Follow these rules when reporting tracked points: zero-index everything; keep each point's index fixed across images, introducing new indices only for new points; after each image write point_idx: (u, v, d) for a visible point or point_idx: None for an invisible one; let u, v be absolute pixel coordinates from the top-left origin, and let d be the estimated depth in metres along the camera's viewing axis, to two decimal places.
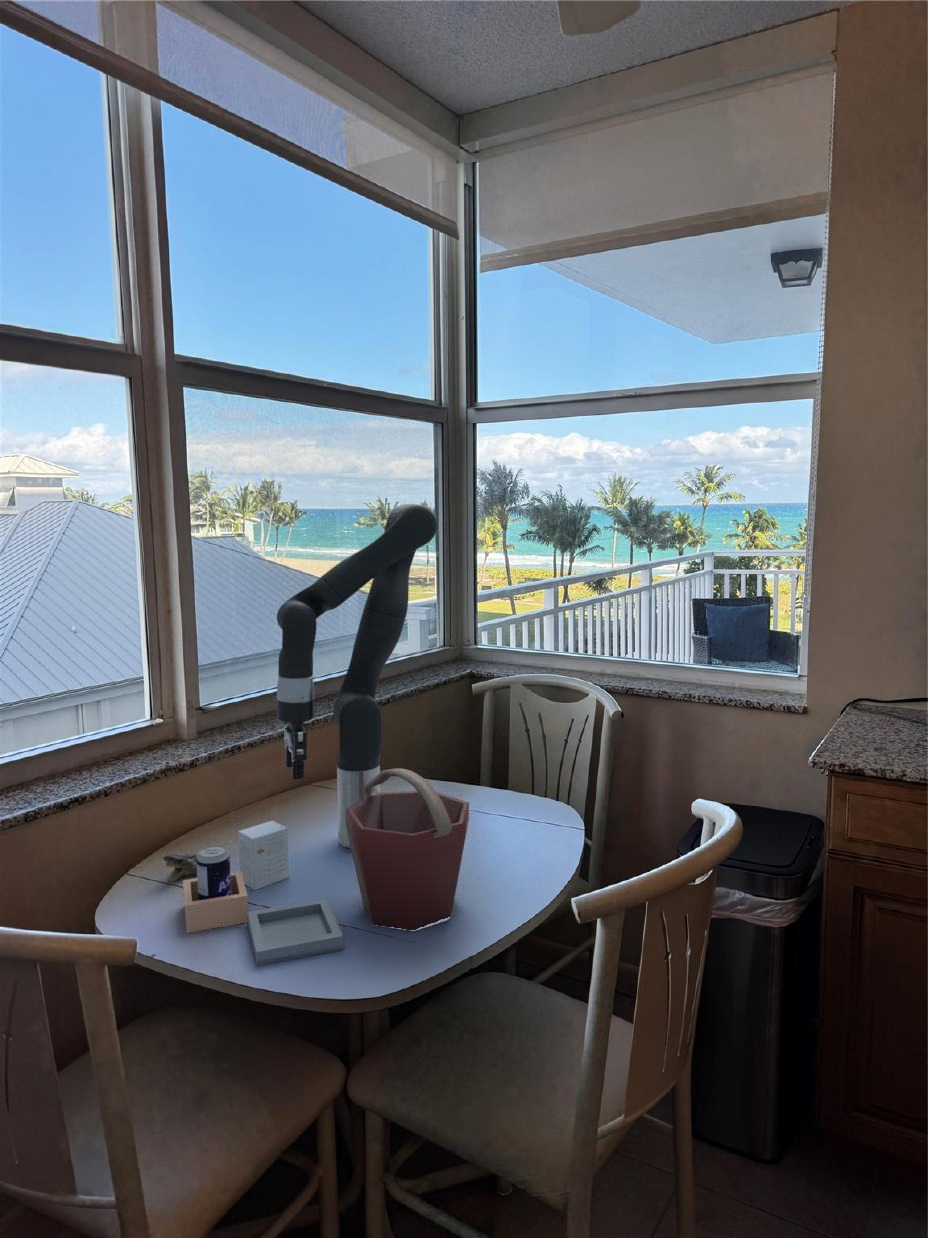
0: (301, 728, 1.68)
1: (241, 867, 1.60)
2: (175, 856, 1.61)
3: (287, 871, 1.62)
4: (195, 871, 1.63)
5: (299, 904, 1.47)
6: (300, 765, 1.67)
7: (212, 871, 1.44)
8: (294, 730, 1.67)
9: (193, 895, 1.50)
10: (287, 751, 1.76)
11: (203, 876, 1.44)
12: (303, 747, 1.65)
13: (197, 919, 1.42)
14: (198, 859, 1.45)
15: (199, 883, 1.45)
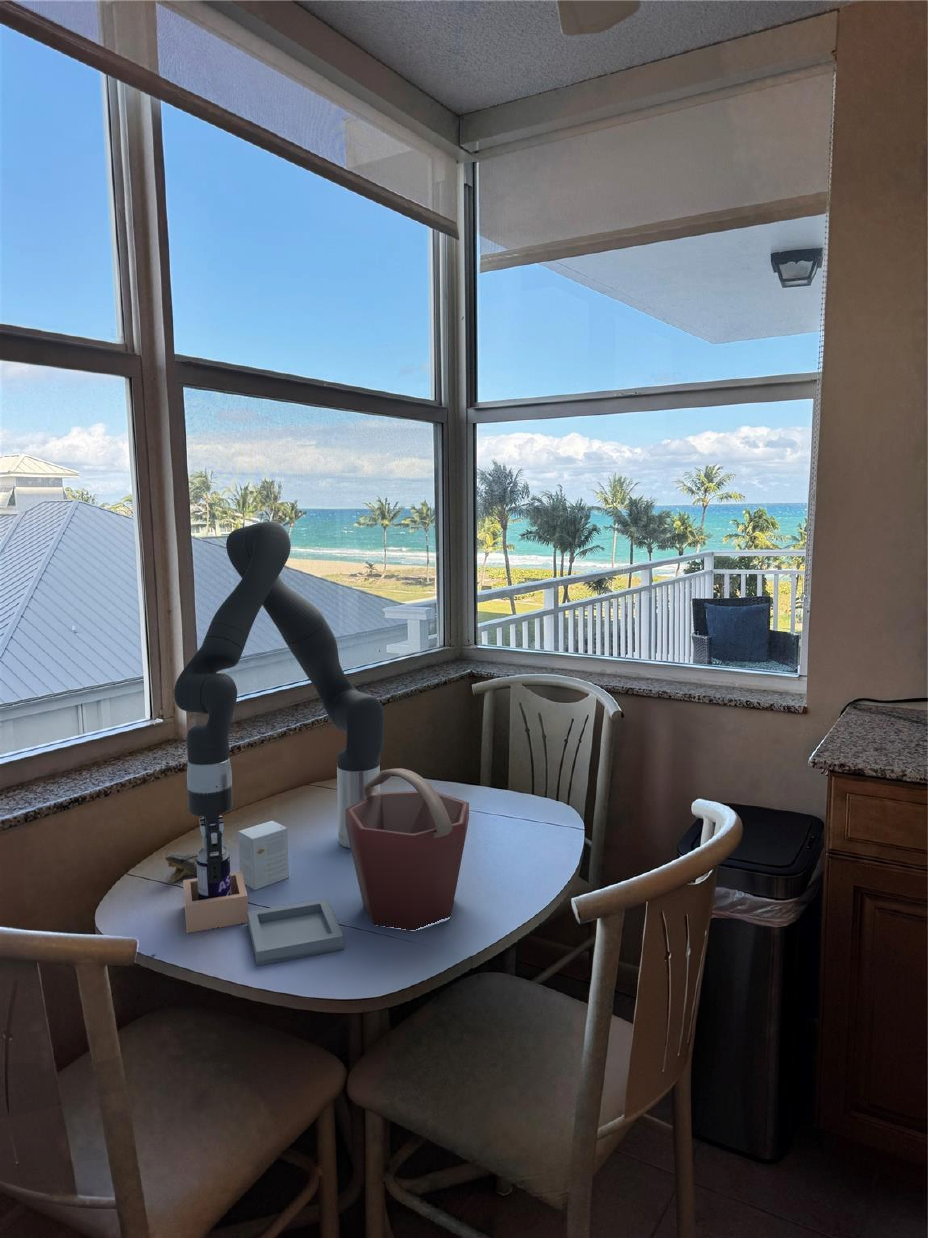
0: (216, 824, 1.42)
1: (241, 867, 1.60)
2: (177, 856, 1.60)
3: (287, 871, 1.62)
4: None
5: (299, 904, 1.47)
6: (216, 867, 1.43)
7: None
8: (208, 827, 1.42)
9: (193, 895, 1.50)
10: None
11: (203, 876, 1.44)
12: (218, 849, 1.40)
13: (197, 919, 1.42)
14: (198, 859, 1.45)
15: (199, 883, 1.45)
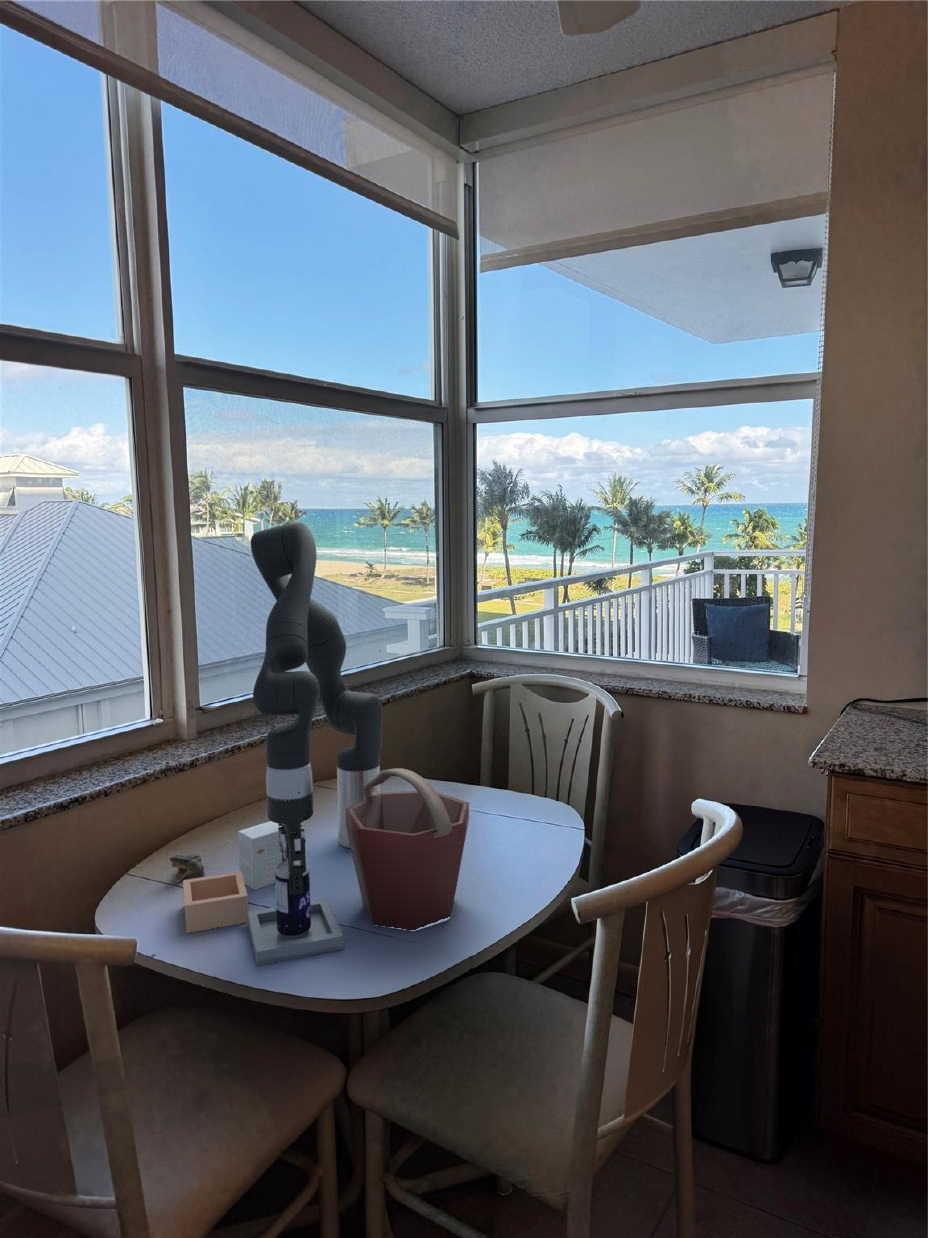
0: (298, 831, 1.34)
1: (241, 867, 1.60)
2: (180, 857, 1.60)
3: None
4: (200, 871, 1.63)
5: None
6: (298, 877, 1.34)
7: None
8: (290, 834, 1.33)
9: (193, 895, 1.50)
10: (283, 856, 1.41)
11: (283, 892, 1.36)
12: (301, 857, 1.32)
13: (197, 919, 1.42)
14: (277, 874, 1.37)
15: (278, 899, 1.37)
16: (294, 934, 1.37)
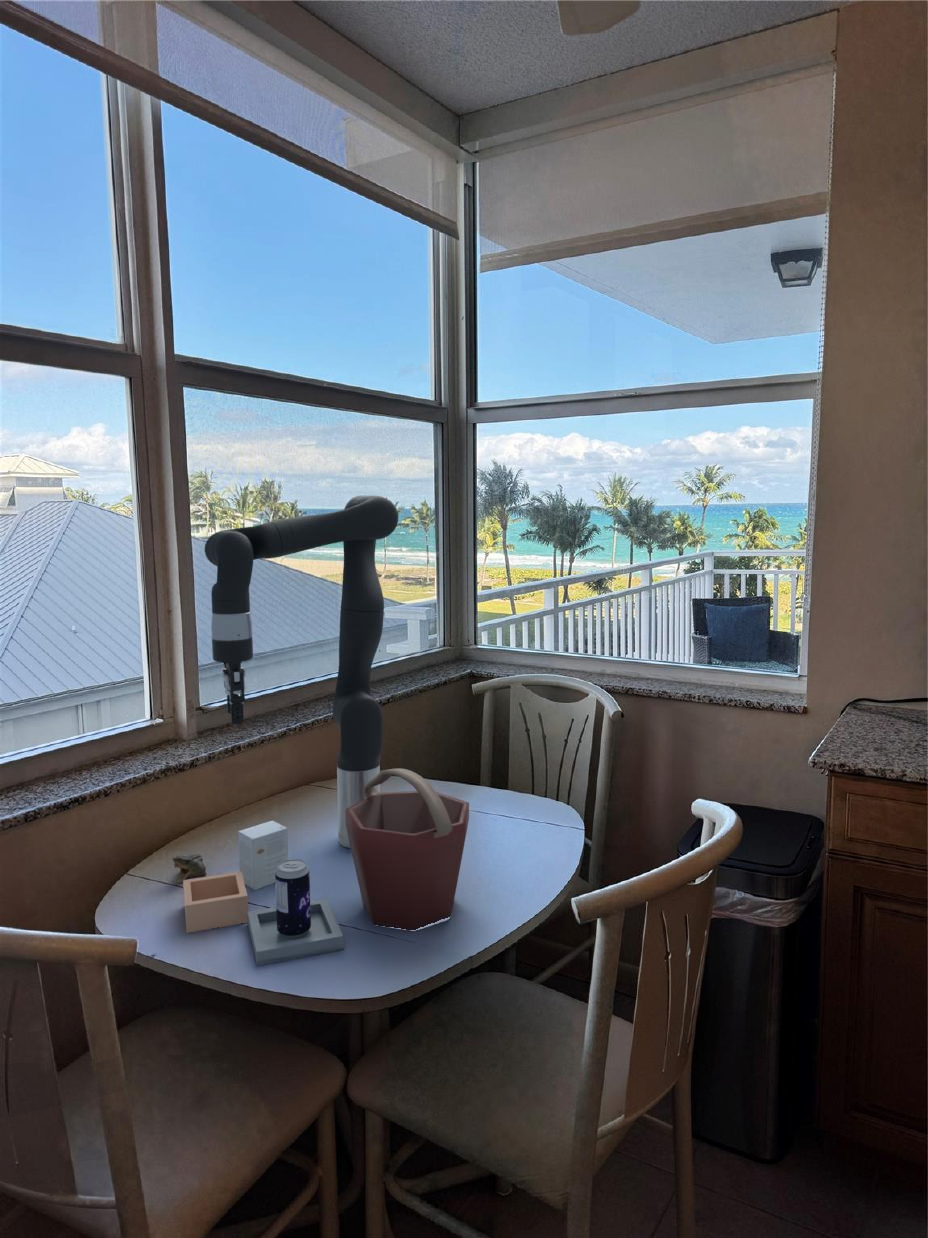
0: (238, 668, 1.55)
1: (241, 867, 1.60)
2: (183, 857, 1.60)
3: None
4: (202, 871, 1.63)
5: None
6: (239, 708, 1.55)
7: (293, 886, 1.36)
8: (231, 670, 1.54)
9: (193, 895, 1.50)
10: (228, 696, 1.63)
11: (283, 892, 1.36)
12: (240, 688, 1.52)
13: (197, 919, 1.42)
14: (277, 874, 1.37)
15: (278, 899, 1.37)
16: (294, 934, 1.37)
